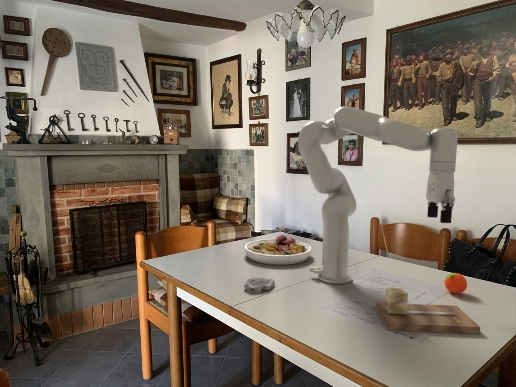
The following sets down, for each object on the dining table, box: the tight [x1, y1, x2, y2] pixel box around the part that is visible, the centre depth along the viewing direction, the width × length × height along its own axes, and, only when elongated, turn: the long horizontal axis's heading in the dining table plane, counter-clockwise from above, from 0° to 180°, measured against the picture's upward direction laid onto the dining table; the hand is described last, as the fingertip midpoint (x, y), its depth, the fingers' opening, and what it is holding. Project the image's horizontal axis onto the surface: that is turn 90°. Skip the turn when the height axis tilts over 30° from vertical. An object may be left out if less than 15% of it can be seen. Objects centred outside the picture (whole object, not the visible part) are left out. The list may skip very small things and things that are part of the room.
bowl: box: [244, 234, 312, 266], centre depth 174 cm, size 30×30×8 cm
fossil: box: [243, 276, 276, 294], centre depth 135 cm, size 11×4×10 cm
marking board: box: [375, 302, 481, 335], centre depth 109 cm, size 24×14×2 cm, turn 86°
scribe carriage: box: [384, 287, 409, 314], centre depth 110 cm, size 6×4×6 cm
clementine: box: [444, 272, 468, 295], centre depth 131 cm, size 8×7×7 cm
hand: (438, 220), depth 125 cm, fingers open, 9 cm apart
